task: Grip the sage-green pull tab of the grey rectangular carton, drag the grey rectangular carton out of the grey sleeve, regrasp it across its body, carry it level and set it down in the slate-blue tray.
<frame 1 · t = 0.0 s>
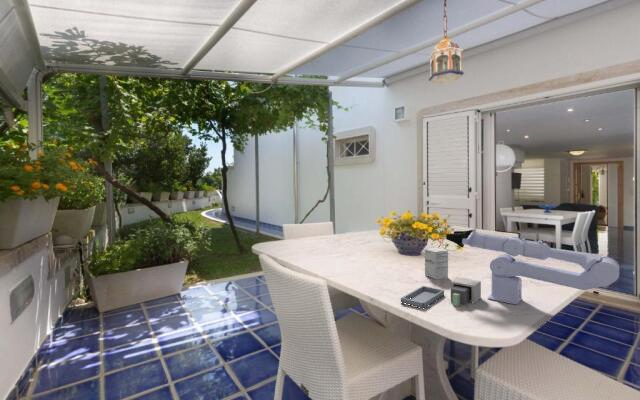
hand: (450, 235, 133), 22 cm above the table, tool horizontal, fingers open, 7 cm apart
supplement box: (436, 277, 150), on the table
sleeve: (465, 297, 123), on the table
tray: (423, 299, 123), on the table
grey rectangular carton: (461, 301, 120), on the table
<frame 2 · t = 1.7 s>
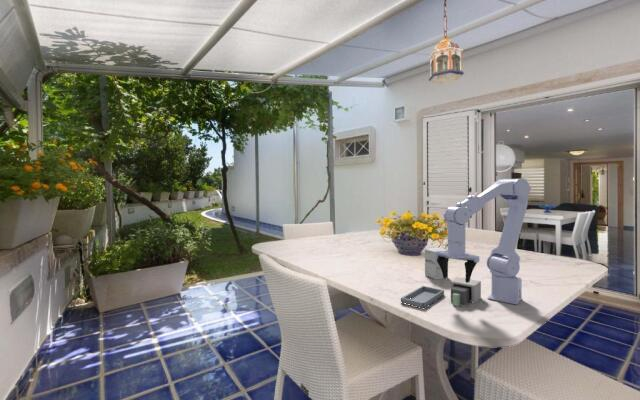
hand: (456, 279, 116), 9 cm above the table, tool pointing down, fingers open, 7 cm apart
nothing on the table moved.
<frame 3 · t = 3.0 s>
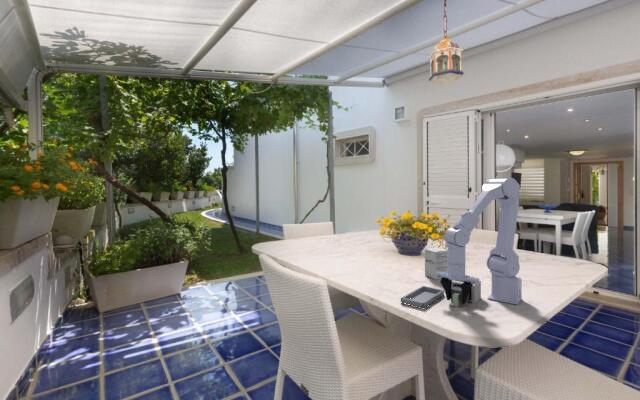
hand: (456, 301, 116), 1 cm above the table, tool pointing down, fingers closed on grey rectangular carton, 5 cm apart
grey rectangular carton: (461, 301, 120), on the table, touching gripper
everything else where it was.
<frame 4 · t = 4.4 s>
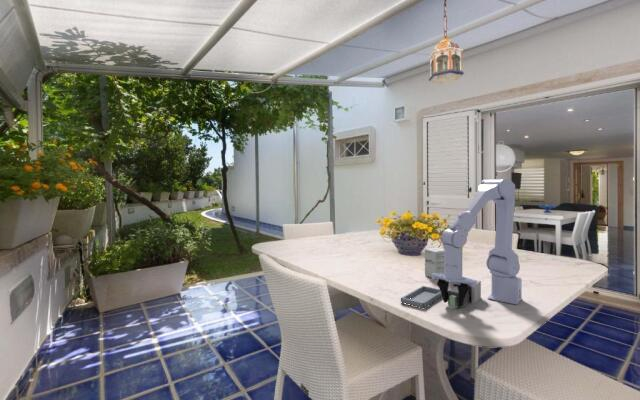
hand: (453, 303, 114), 1 cm above the table, tool pointing down, fingers closed on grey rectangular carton, 5 cm apart
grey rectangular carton: (458, 303, 118), on the table, touching gripper
everything else where it was.
when the fingers open (1 cm above the table, at t = 6.1 s): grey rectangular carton stays where it is, on the table.
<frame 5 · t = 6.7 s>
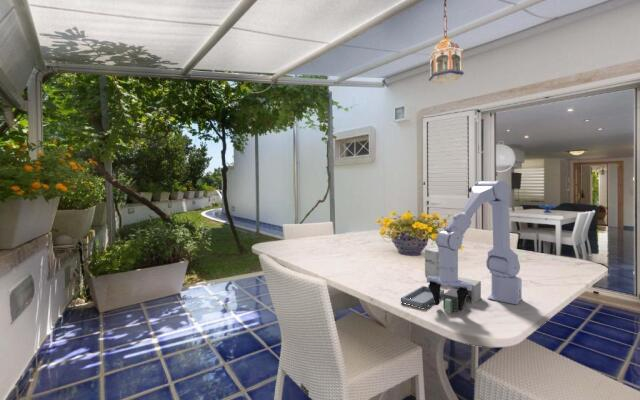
hand: (448, 307, 111), 1 cm above the table, tool pointing down, fingers open, 7 cm apart
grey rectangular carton: (454, 306, 115), on the table
everything else where it was.
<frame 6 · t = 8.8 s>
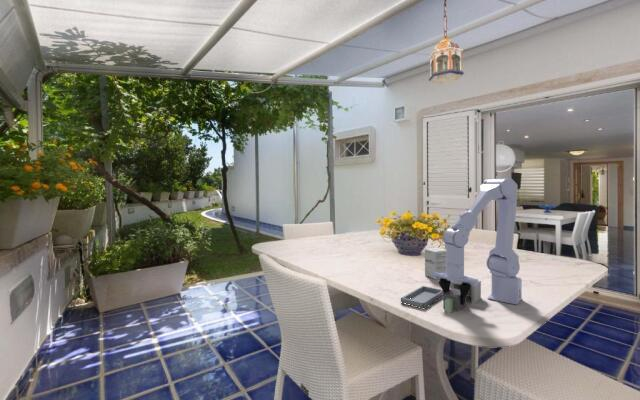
hand: (455, 302, 115), 1 cm above the table, tool pointing down, fingers closed on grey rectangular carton, 5 cm apart
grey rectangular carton: (454, 306, 115), on the table, touching gripper
everything else where it was.
when the fingers open (3 cm above the table, at t = 12.7 s): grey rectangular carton stays where it is, resting on tray.
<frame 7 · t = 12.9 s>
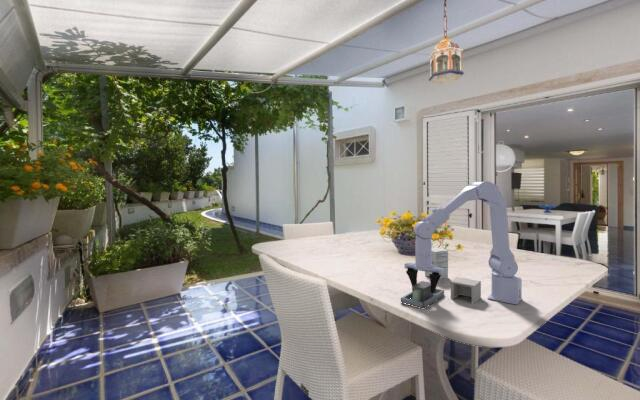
hand: (423, 290, 123), 3 cm above the table, tool pointing down, fingers open, 7 cm apart
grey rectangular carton: (423, 297, 123), resting on tray
everything else where it was.
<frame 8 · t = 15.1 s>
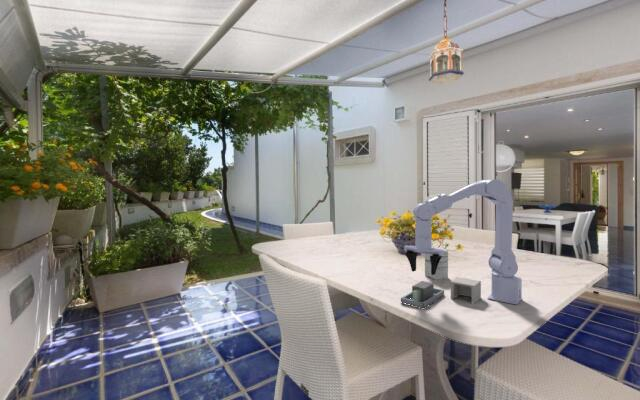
hand: (423, 272, 122), 10 cm above the table, tool pointing down, fingers open, 7 cm apart
nothing on the table moved.
at the end: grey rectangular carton inside the target area on the tray (1.8 cm from its centre), point 0.5 cm above the tray's base; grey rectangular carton tilted 0°; the gripper is holding nothing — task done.
